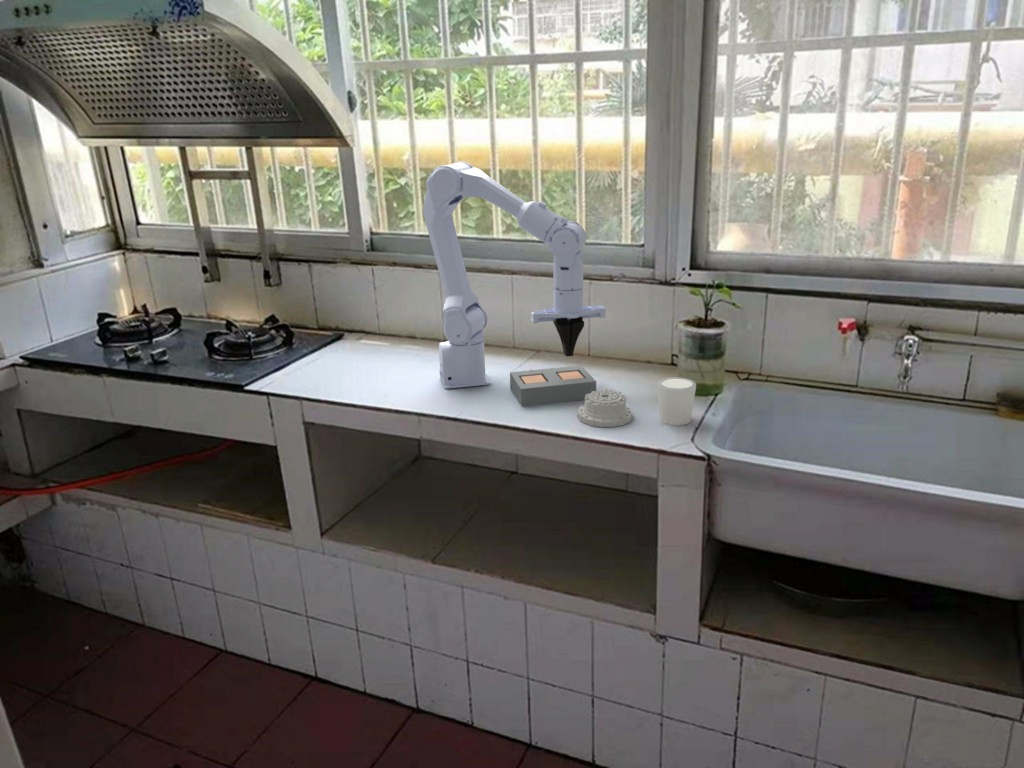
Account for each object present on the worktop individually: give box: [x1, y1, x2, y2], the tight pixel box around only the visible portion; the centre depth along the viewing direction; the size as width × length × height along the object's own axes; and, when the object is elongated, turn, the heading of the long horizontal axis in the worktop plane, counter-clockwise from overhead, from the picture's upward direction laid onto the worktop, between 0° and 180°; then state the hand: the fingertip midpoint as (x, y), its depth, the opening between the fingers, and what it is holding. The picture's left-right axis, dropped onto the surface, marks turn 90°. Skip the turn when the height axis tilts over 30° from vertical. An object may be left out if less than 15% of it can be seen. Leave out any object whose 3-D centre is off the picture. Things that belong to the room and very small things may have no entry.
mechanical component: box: [577, 389, 634, 428], centre depth 146 cm, size 10×4×10 cm
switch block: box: [509, 365, 597, 407], centre depth 158 cm, size 15×10×4 cm, turn 102°
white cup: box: [657, 376, 697, 426], centre depth 143 cm, size 7×7×7 cm
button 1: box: [521, 375, 546, 384], centre depth 157 cm, size 4×4×3 cm
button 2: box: [558, 371, 584, 380], centre depth 159 cm, size 4×4×3 cm
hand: (568, 354), depth 158 cm, fingers closed
